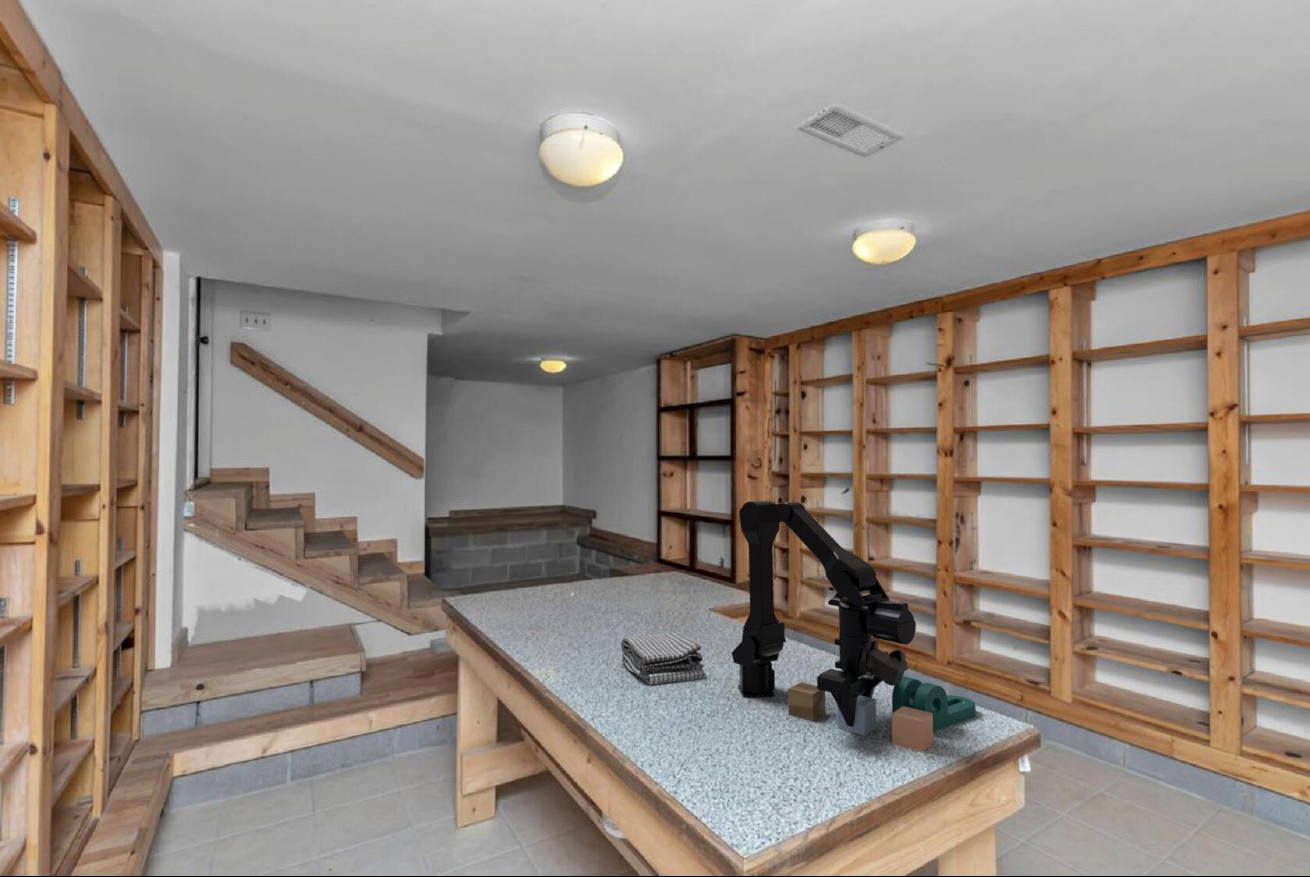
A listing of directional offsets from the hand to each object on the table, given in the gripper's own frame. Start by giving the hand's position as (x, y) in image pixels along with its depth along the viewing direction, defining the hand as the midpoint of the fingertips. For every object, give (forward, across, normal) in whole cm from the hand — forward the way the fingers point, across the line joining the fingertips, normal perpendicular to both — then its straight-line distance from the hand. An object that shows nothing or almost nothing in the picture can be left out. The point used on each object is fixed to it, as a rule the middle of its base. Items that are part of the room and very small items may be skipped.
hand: (856, 721), depth 115 cm
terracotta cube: (+1, 0, -10) cm, 10 cm away
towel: (+2, +2, +48) cm, 49 cm away
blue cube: (+1, 0, 0) cm, 1 cm away
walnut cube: (+1, 0, +10) cm, 10 cm away
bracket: (+2, +15, -9) cm, 18 cm away
